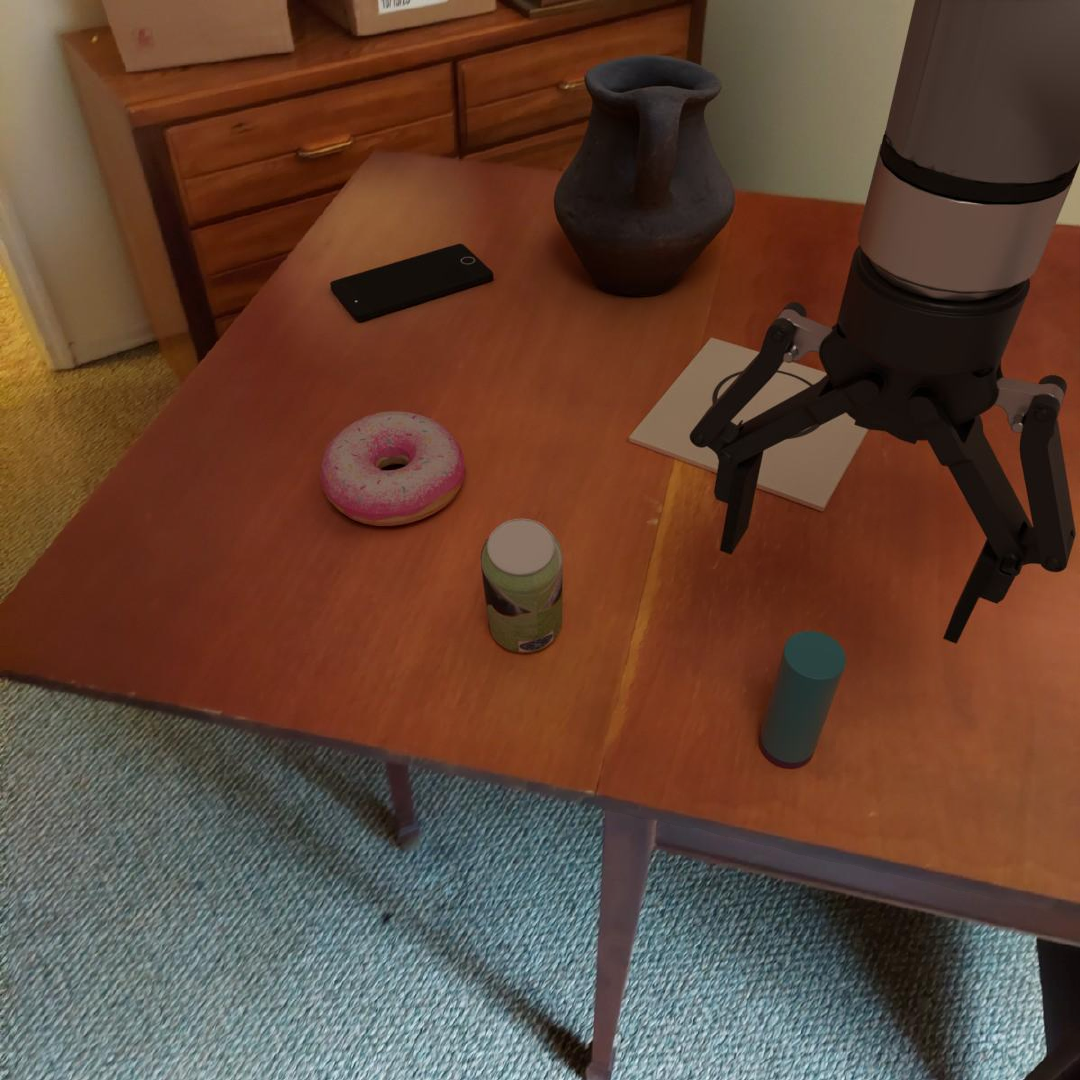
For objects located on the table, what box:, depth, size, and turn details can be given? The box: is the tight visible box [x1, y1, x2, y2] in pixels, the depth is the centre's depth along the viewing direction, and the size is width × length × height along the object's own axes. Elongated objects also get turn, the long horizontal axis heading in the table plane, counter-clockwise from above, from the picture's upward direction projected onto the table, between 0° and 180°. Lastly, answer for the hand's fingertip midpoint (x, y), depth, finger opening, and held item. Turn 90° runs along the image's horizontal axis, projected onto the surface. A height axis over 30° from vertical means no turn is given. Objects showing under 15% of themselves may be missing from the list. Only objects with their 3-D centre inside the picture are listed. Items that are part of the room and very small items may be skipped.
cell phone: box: [329, 243, 495, 323], centre depth 115 cm, size 9×18×1 cm, turn 120°
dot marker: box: [758, 630, 847, 770], centre depth 66 cm, size 4×4×11 cm
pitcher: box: [553, 54, 736, 297], centre depth 107 cm, size 21×22×25 cm
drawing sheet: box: [628, 336, 870, 513], centre depth 97 cm, size 20×20×1 cm
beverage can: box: [480, 518, 564, 654], centre depth 74 cm, size 6×7×12 cm
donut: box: [319, 410, 466, 527], centre depth 89 cm, size 14×13×5 cm
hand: (839, 580), depth 57 cm, fingers open, 13 cm apart
